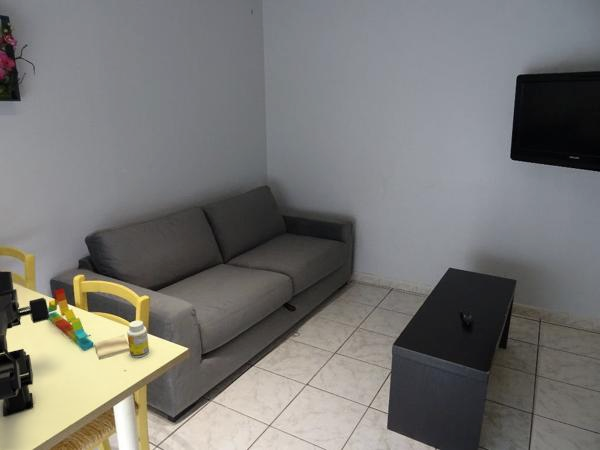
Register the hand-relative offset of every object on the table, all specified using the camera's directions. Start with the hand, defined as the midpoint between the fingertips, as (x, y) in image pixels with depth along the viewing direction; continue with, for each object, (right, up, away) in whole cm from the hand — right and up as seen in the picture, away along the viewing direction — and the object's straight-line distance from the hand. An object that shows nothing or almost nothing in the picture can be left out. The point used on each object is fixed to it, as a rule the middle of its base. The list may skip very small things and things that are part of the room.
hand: (13, 321), depth 130 cm
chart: (+6, -8, +20) cm, 22 cm away
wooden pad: (+25, -10, +10) cm, 28 cm away
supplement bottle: (+34, -11, +7) cm, 37 cm away
